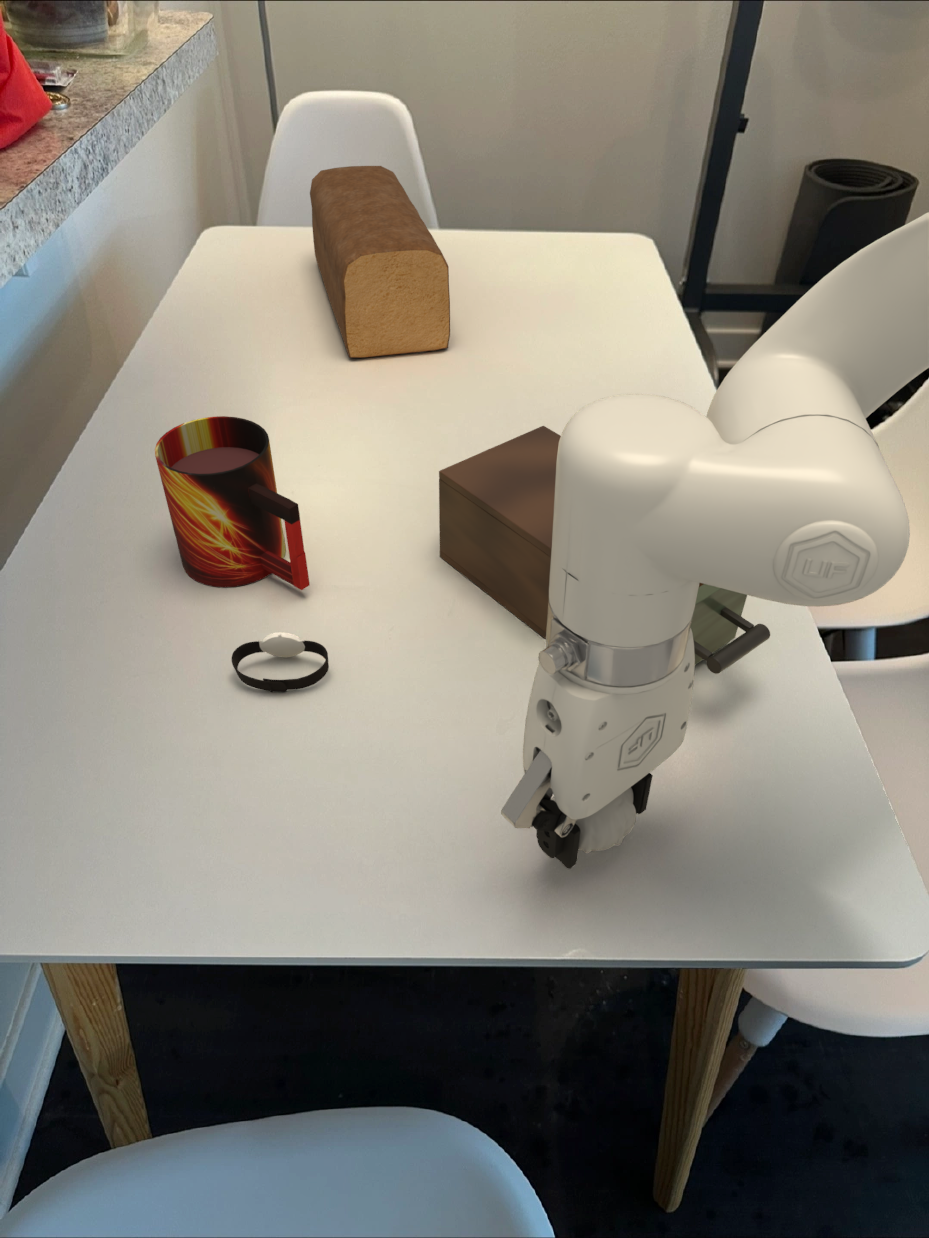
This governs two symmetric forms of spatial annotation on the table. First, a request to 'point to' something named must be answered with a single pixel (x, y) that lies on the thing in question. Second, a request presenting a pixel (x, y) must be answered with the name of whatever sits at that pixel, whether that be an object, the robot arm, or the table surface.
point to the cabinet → (504, 522)
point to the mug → (229, 504)
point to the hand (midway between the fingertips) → (591, 823)
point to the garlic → (607, 824)
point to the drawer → (722, 628)
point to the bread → (378, 264)
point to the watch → (281, 647)
